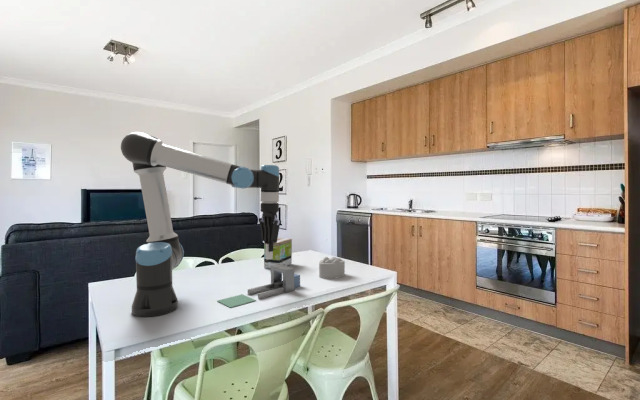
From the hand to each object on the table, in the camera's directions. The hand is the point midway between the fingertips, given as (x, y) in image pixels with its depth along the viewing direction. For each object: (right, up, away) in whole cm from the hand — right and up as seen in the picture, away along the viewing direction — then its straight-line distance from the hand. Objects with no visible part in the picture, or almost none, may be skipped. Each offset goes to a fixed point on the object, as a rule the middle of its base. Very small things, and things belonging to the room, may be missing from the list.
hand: (269, 258), depth 143 cm
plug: (+7, -14, +7) cm, 17 cm away
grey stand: (+1, -14, +1) cm, 14 cm away
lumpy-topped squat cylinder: (+27, -13, +27) cm, 40 cm away
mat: (-11, -15, -10) cm, 21 cm away
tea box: (-2, -12, +47) cm, 49 cm away
